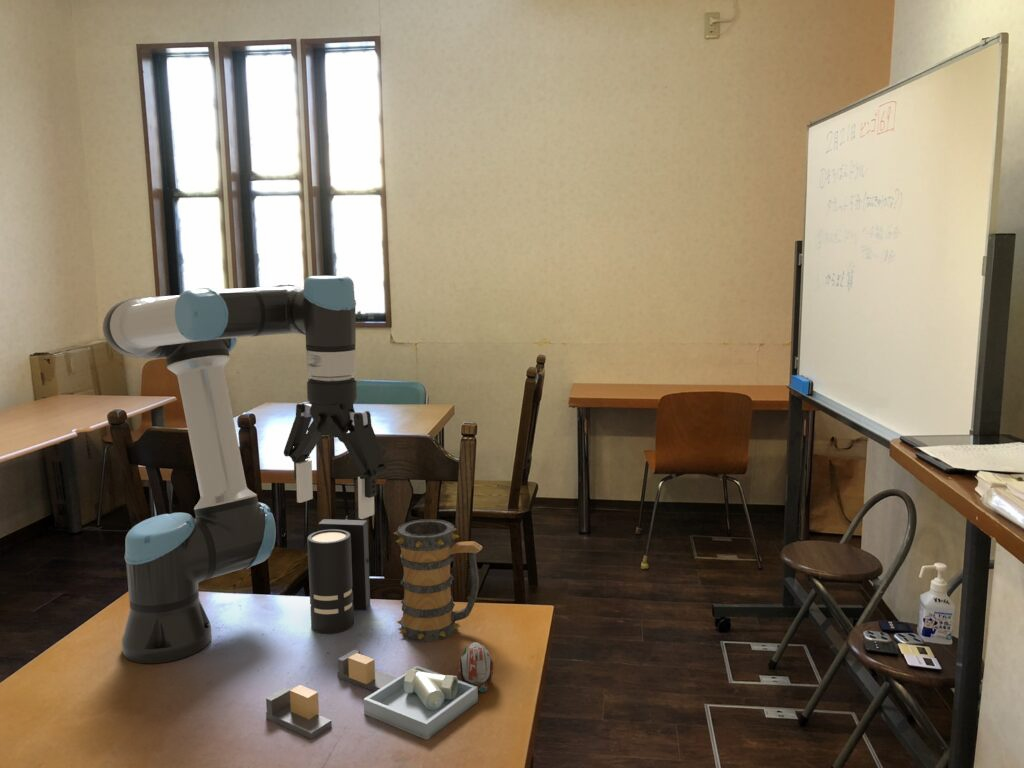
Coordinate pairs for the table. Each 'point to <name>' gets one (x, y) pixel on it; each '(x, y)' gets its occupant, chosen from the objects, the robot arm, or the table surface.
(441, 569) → the mug
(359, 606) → the light fixture
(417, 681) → the pipe fitting
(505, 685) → the table surface
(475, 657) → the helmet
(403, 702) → the parts tray
